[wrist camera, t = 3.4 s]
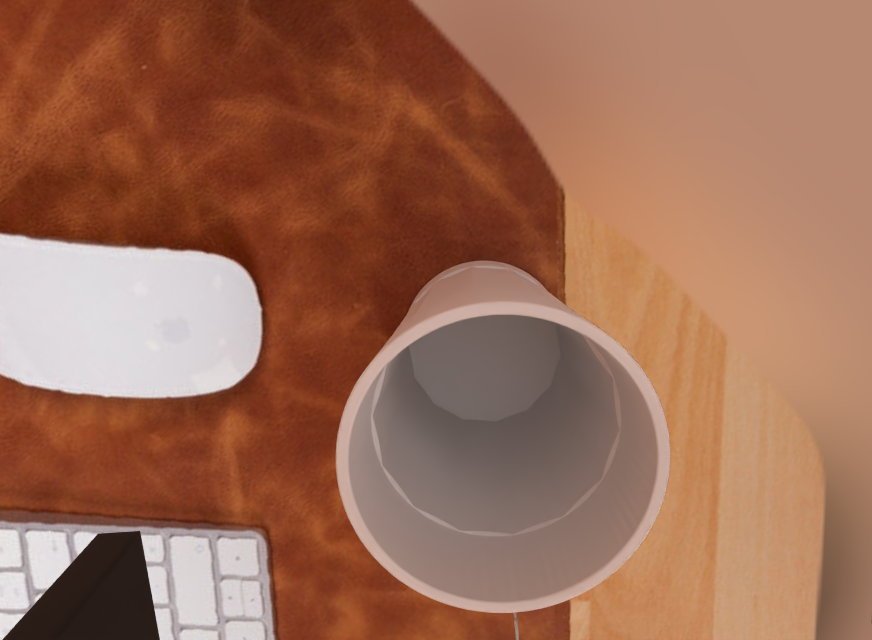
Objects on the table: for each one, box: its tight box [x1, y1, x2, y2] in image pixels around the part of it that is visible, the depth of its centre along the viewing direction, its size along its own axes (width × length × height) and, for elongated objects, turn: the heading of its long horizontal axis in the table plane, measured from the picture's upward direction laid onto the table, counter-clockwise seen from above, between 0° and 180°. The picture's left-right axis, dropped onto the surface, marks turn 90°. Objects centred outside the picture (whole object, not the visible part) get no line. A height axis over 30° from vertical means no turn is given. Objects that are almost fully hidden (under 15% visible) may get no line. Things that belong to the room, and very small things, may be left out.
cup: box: [336, 261, 670, 613], centre depth 24 cm, size 8×8×12 cm
